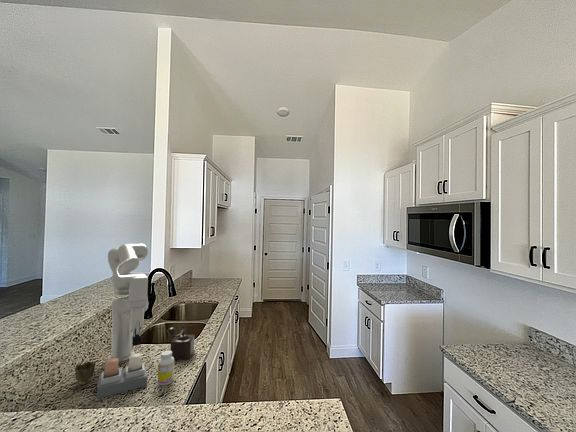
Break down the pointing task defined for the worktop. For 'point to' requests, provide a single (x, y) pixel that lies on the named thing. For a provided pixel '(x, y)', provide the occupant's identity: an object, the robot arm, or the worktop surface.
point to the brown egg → (111, 366)
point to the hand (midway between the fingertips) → (136, 344)
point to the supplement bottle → (166, 368)
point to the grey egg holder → (121, 381)
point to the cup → (84, 372)
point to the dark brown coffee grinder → (181, 344)
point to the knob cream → (135, 361)
